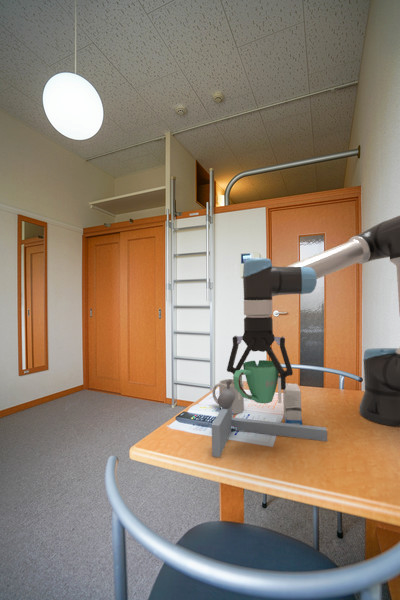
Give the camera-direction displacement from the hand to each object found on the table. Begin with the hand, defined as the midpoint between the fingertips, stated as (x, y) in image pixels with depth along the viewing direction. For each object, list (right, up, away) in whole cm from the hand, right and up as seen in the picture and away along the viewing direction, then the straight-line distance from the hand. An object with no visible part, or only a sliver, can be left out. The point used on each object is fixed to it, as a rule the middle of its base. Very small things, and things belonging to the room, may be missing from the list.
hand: (259, 399), depth 74 cm
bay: (+3, -13, +2) cm, 14 cm away
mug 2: (-1, -1, 0) cm, 1 cm away
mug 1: (-5, -14, +29) cm, 32 cm away
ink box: (+14, -13, +15) cm, 25 cm away
